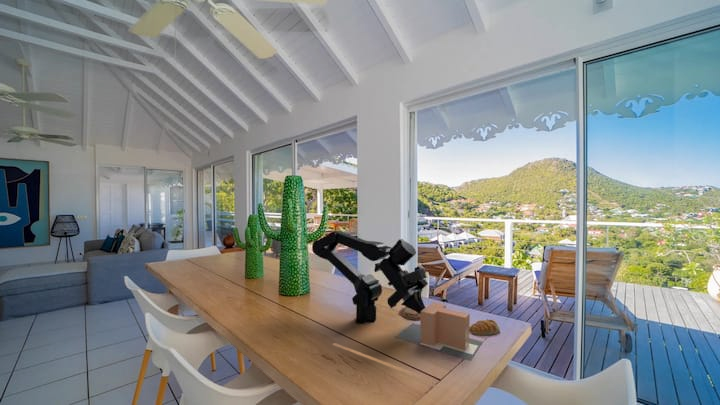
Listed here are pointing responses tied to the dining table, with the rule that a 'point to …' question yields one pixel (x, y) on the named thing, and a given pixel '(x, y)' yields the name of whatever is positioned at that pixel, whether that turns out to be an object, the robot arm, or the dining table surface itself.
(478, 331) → the pastry
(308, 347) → the dining table surface
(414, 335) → the board
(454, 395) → the dining table surface
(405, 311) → the cookie
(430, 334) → the tee
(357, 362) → the dining table surface
